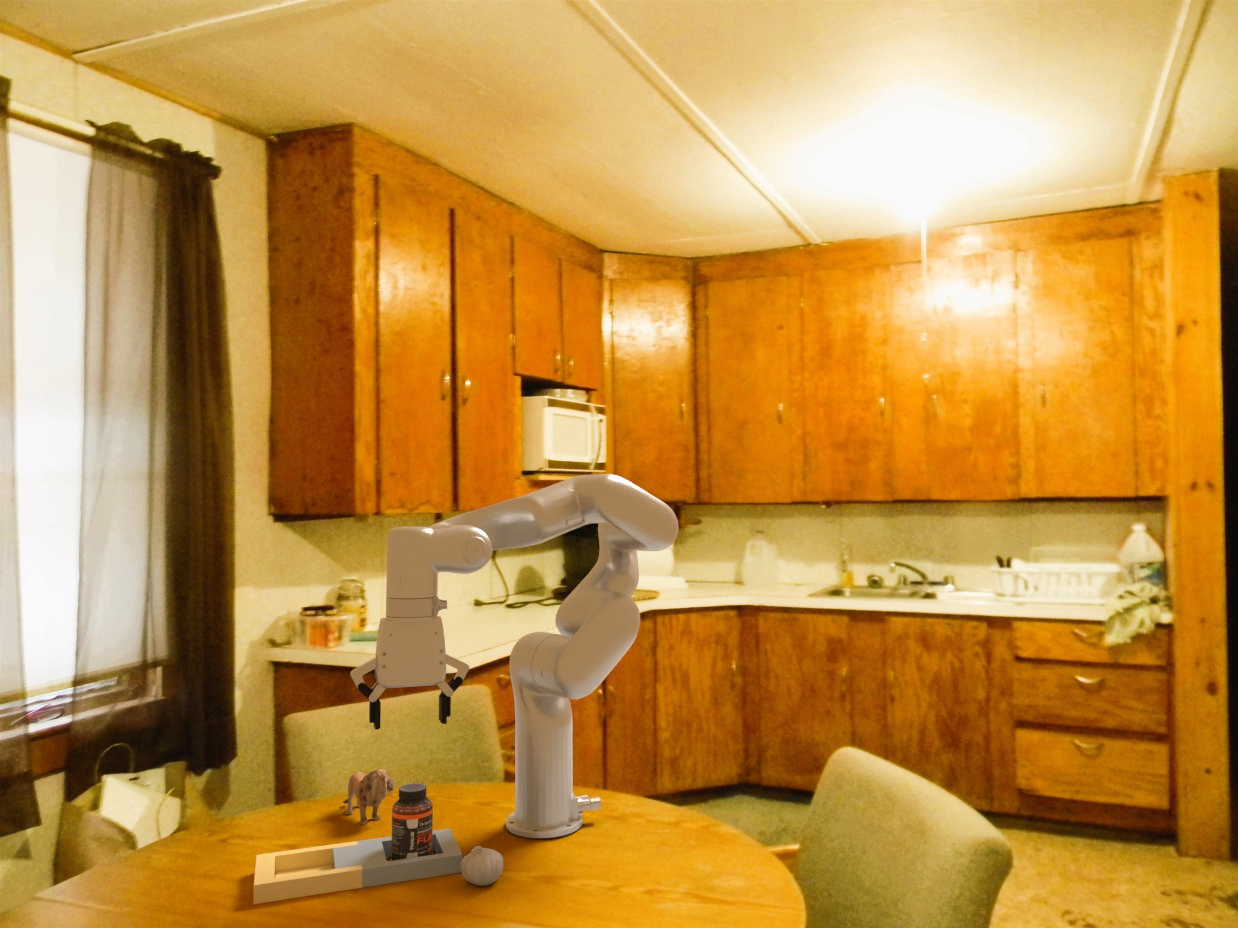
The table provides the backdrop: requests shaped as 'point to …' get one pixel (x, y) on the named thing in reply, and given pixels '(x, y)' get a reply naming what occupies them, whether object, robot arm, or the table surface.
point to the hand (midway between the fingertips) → (410, 724)
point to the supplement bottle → (412, 823)
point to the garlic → (482, 866)
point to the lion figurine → (368, 792)
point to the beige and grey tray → (348, 867)
